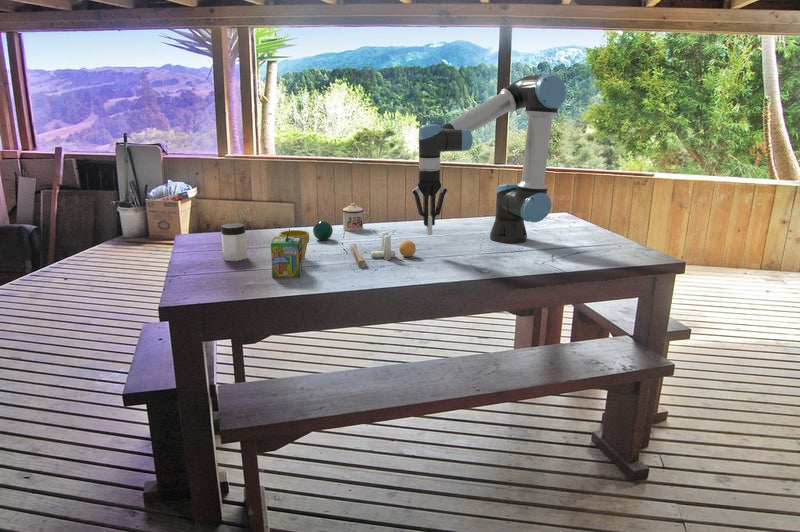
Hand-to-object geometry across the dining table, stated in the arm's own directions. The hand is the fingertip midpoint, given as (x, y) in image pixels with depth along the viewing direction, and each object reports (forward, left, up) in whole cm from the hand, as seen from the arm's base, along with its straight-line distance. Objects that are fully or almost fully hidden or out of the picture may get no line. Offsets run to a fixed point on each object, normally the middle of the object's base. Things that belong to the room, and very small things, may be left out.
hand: (429, 234), depth 208 cm
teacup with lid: (+21, -48, -8) cm, 53 cm away
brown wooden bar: (+27, 0, -8) cm, 28 cm away
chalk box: (+52, +15, -8) cm, 54 cm away
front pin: (+13, 0, -7) cm, 15 cm away
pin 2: (+16, +3, -8) cm, 18 cm away
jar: (+70, -7, -8) cm, 70 cm away
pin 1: (+16, -2, -8) cm, 18 cm away
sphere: (+37, -30, -8) cm, 48 cm away
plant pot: (+49, -2, -8) cm, 49 cm away
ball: (+8, +1, -5) cm, 10 cm away
